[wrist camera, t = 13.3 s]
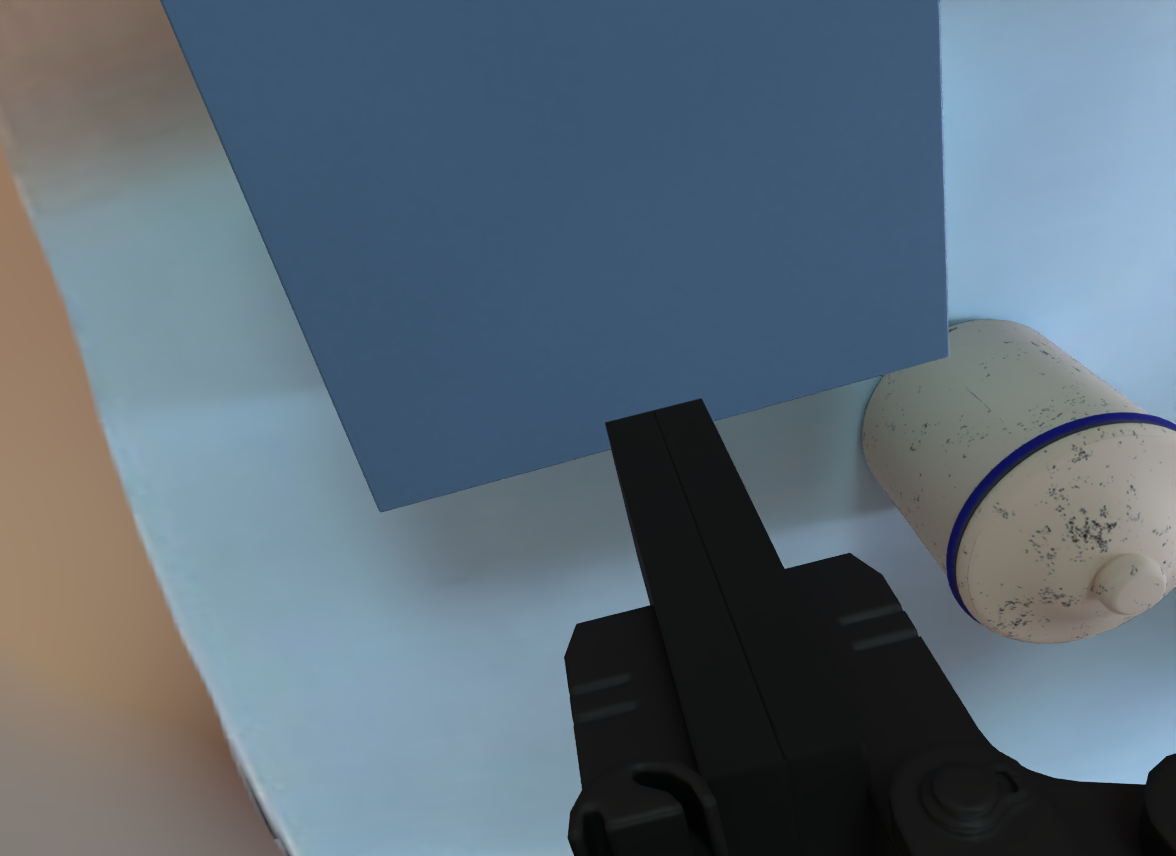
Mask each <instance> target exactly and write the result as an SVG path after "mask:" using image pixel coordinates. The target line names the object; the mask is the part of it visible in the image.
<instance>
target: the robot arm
mask: <svg viewBox="0 0 1176 856" xmlns="http://www.w3.org/2000/svg"><path fill="white" fill-rule="evenodd" d="M605 426H606V430H607V434H608V438H609V442H610V446H611V450H612V454H613V458H614V462H615V466H616V471H617V475H618V479H619V483H620V487H621V491H622V495H623V499H624V503H625V507H626V511H627V516H628V520H629V524H630V528H631V532H632V536H633V540H634V544H635V548H636V552H637V556H638V561H639V564H640V568H641V572H642V576H643V579H644V583H645V587H646V590H647V594H648V598H649V602H650V606H646V607H642V608H638V609H634V610H630V611H626V612H622V613H618V614H614V615H610V616H606V617H602V618H598V619H594V620H590V621H586V622H582V623H578V624H576V626H575V629H574V632H573V635H572V637H571V640H570V643H569V646H568V648H567V651H566V654H565V656H564V659H565V666H566V674H567V681H568V688H569V693H570V703H571V710H572V718H573V722H574V733H575V740H576V747H577V755H578V762H579V770H580V777H581V784H582V791H581V793H580V795H579V797H578V799H577V800H576V802H575V804H574V806H573V808H572V810H571V812H570V820H569V830H568V840H569V843H570V846H571V849H572V851H573V854H574V856H1176V754H1173V755H1169V756H1166V757H1165V758H1164V759H1163V760H1162V761H1161V762H1160V763H1159V764H1158V765H1156V766H1155V767H1154V768H1153V769H1152V770H1151V771H1150V772H1149V774H1148V778H1147V782H1146V785H1141V784H1120V783H1099V782H1079V781H1072V780H1065V779H1057V778H1053V777H1050V776H1046V775H1043V774H1040V773H1037V772H1034V771H1031V770H1029V769H1027V768H1025V767H1023V766H1021V765H1020V764H1019V763H1018V762H1017V761H1016V760H1014V759H1012V758H1011V757H1009V756H1007V755H1005V754H1003V753H1001V752H1000V751H998V750H997V749H996V748H995V747H993V746H992V745H991V744H990V742H989V741H988V740H987V739H986V738H985V736H984V735H983V734H982V733H981V731H980V730H979V729H978V727H977V726H976V724H975V722H974V721H973V719H972V718H971V716H970V714H969V713H968V711H967V710H966V708H965V706H964V705H963V703H962V702H961V700H960V698H959V697H958V695H957V694H956V692H955V690H954V689H953V687H952V686H951V684H950V682H949V681H948V679H947V678H946V676H945V674H944V673H943V671H942V670H941V668H940V666H939V665H938V663H937V662H936V660H935V658H934V657H933V655H932V654H931V652H930V650H929V649H928V647H927V646H926V644H925V642H924V641H923V639H922V638H921V636H920V637H919V636H918V634H917V630H916V628H915V626H914V625H913V623H912V622H911V620H910V618H909V617H908V615H907V614H906V612H905V611H903V610H902V607H901V604H900V602H899V601H898V599H897V598H896V596H895V594H894V593H893V591H892V590H891V588H890V586H889V585H888V583H887V582H886V580H885V578H884V577H883V575H882V574H880V573H879V572H877V571H876V570H874V569H873V568H871V567H870V566H868V565H867V564H865V563H864V562H863V561H861V560H860V559H858V558H857V557H855V556H854V555H852V554H851V553H847V554H843V555H839V556H835V557H831V558H827V559H823V560H819V561H815V562H811V563H807V564H803V565H799V566H795V567H791V568H787V569H784V567H783V565H782V563H781V561H780V559H779V557H778V555H777V552H776V550H775V548H774V546H773V544H772V542H771V540H770V538H769V536H768V534H767V532H766V530H765V528H764V526H763V524H762V522H761V519H760V517H759V515H758V513H757V511H756V509H755V507H754V505H753V503H752V501H751V499H750V497H749V495H748V493H747V491H746V488H745V486H744V484H743V482H742V480H741V478H740V476H739V474H738V472H737V470H736V468H735V466H734V464H733V462H732V460H731V458H730V455H729V453H728V451H727V449H726V447H725V445H724V443H723V441H722V439H721V437H720V435H719V433H718V431H717V429H716V427H715V424H714V422H713V420H712V418H711V416H710V414H709V412H708V410H707V408H706V406H705V404H704V402H703V400H702V398H700V399H696V400H692V401H688V402H684V403H680V404H676V405H672V406H668V407H664V408H660V409H656V410H652V411H648V412H644V413H640V414H637V415H633V416H629V417H625V418H621V419H617V420H613V421H609V422H605Z"/></svg>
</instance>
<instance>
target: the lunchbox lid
mask: <svg viewBox="0 0 1176 856" xmlns="http://www.w3.org/2000/svg"><path fill="white" fill-rule="evenodd" d="M160 1H161V3H162V6H163V8H164V10H165V13H166V15H167V17H168V20H169V22H170V24H171V27H172V29H173V31H174V34H175V36H176V38H177V41H178V43H179V45H180V48H181V50H182V52H183V55H184V57H185V59H186V62H187V64H188V66H189V68H190V71H191V73H192V75H193V78H194V80H195V82H196V85H197V87H198V89H199V92H200V94H201V96H202V99H203V101H204V103H205V106H206V108H207V110H208V113H209V115H210V117H211V120H212V122H213V124H214V127H215V129H216V131H217V134H218V136H219V138H220V141H221V143H222V145H223V148H224V150H225V152H226V155H227V157H228V159H229V162H230V164H231V166H232V169H233V171H234V173H235V176H236V178H237V180H238V183H239V185H240V187H241V190H242V192H243V194H244V197H245V199H246V201H247V204H248V206H249V208H250V211H251V213H252V215H253V218H254V220H255V222H256V225H257V227H258V229H259V232H260V234H261V236H262V239H263V241H264V243H265V246H266V248H267V250H268V253H269V255H270V257H271V260H272V262H273V264H274V267H275V269H276V271H277V274H278V276H279V278H280V281H281V283H282V285H283V288H284V290H285V292H286V295H287V297H288V299H289V302H290V304H291V306H292V309H293V311H294V313H295V316H296V318H297V320H298V323H299V325H300V327H301V330H302V332H303V334H304V337H305V339H306V341H307V344H308V346H309V348H310V351H311V353H312V355H313V358H314V360H315V362H316V365H317V367H318V369H319V372H320V374H321V376H322V379H323V381H324V383H325V386H326V388H327V390H328V393H329V395H330V397H331V400H332V402H333V404H334V407H335V409H336V411H337V414H338V416H339V418H340V421H341V423H342V425H343V428H344V430H345V432H346V435H347V437H348V439H349V442H350V444H351V446H352V449H353V451H354V453H355V456H356V458H357V460H358V463H359V465H360V467H361V470H362V472H363V474H364V477H365V479H366V481H367V484H368V486H369V488H370V491H371V493H372V495H373V498H374V500H375V502H376V505H377V507H378V509H379V511H380V512H384V511H388V510H392V509H395V508H399V507H403V506H406V505H410V504H414V503H417V502H421V501H424V500H428V499H432V498H435V497H439V496H443V495H446V494H450V493H454V492H457V491H461V490H465V489H468V488H472V487H476V486H479V485H483V484H486V483H490V482H494V481H497V480H501V479H505V478H508V477H512V476H516V475H519V474H523V473H527V472H530V471H534V470H538V469H541V468H545V467H548V466H552V465H556V464H559V463H563V462H567V461H570V460H574V459H578V458H581V457H585V456H589V455H592V454H596V453H600V452H603V451H607V450H611V446H610V442H609V438H608V434H607V430H606V426H605V422H609V421H613V420H617V419H621V418H625V417H629V416H633V415H637V414H640V413H644V412H648V411H652V410H656V409H660V408H664V407H668V406H672V405H676V404H680V403H684V402H688V401H692V400H696V399H700V398H702V400H703V402H704V404H705V406H706V408H707V410H708V412H709V414H710V416H711V418H712V420H713V421H716V420H720V419H724V418H727V417H731V416H735V415H738V414H742V413H745V412H749V411H753V410H756V409H760V408H764V407H767V406H771V405H775V404H778V403H782V402H786V401H789V400H793V399H797V398H800V397H804V396H807V395H811V394H815V393H818V392H822V391H826V390H829V389H833V388H837V387H840V386H844V385H848V384H851V383H855V382H859V381H862V380H866V379H869V378H873V377H877V376H880V375H884V374H888V373H891V372H895V371H899V370H902V369H906V368H910V367H913V366H917V365H921V364H924V363H928V362H931V361H935V360H939V359H942V358H946V357H948V356H949V328H948V290H947V252H946V215H945V177H944V140H943V102H942V65H941V27H940V0H160Z"/></svg>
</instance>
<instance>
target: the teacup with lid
mask: <svg viewBox="0 0 1176 856" xmlns="http://www.w3.org/2000/svg"><path fill="white" fill-rule="evenodd" d="M948 328H949V356H948V357H946V358H942V359H939V360H935V361H931V362H928V363H924V364H921V365H917V366H913V367H910V368H906V369H902V370H899V371H895V372H891V373H888V374H885V375H884V376H883V378H882V379H881V380H880V382H879V384H878V385H877V387H876V389H875V390H874V392H873V394H872V397H871V399H870V401H869V404H868V406H867V409H866V413H865V416H864V422H863V431H862V442H863V450H864V455H865V458H866V461H867V464H868V466H869V468H870V470H871V472H872V473H873V475H874V477H875V478H876V479H877V481H878V482H879V484H880V485H881V486H882V488H883V489H884V490H885V492H886V493H887V494H888V496H889V497H890V499H891V500H892V501H893V503H894V504H895V505H896V507H897V508H898V510H899V511H900V512H901V514H902V515H903V516H904V518H905V519H906V520H907V522H908V523H909V525H910V526H911V527H912V529H913V530H914V531H915V533H916V534H917V535H918V537H919V538H920V540H921V541H922V542H923V544H924V545H925V546H926V548H927V549H928V551H929V552H930V553H931V555H932V556H933V557H934V559H935V560H936V561H937V563H938V564H939V566H940V567H941V568H942V570H943V571H944V572H945V574H946V575H947V578H948V581H949V585H950V588H951V590H952V593H953V595H954V597H955V599H956V600H957V602H958V604H959V605H960V606H961V607H962V609H963V610H964V611H965V612H966V613H967V614H968V615H969V616H970V617H971V618H972V619H974V620H975V621H977V622H978V623H980V624H981V625H983V626H985V627H986V628H988V629H989V630H991V631H993V632H995V633H997V634H1000V635H1002V636H1005V637H1008V638H1011V639H1015V640H1019V641H1023V642H1030V643H1062V642H1069V641H1075V640H1080V639H1084V638H1088V637H1091V636H1094V635H1097V634H1100V633H1103V632H1106V631H1108V630H1111V629H1113V628H1115V627H1117V626H1119V625H1122V624H1124V623H1125V622H1127V621H1129V620H1131V619H1133V618H1135V617H1136V616H1138V615H1139V614H1141V613H1143V612H1144V611H1146V610H1148V609H1150V608H1151V607H1152V606H1154V605H1155V604H1156V603H1157V602H1158V601H1159V600H1161V599H1162V598H1163V597H1164V596H1165V595H1166V594H1168V593H1169V592H1170V591H1171V590H1172V589H1173V588H1174V587H1175V586H1176V425H1175V424H1174V423H1172V422H1170V421H1168V420H1165V419H1162V418H1160V417H1156V416H1152V415H1149V414H1148V413H1147V412H1145V411H1144V410H1143V409H1141V408H1140V407H1139V406H1137V405H1136V404H1135V403H1133V402H1132V401H1131V400H1129V399H1128V398H1127V397H1125V396H1124V395H1122V394H1121V393H1120V392H1118V391H1117V390H1116V389H1114V388H1113V387H1112V386H1110V385H1109V384H1108V383H1106V382H1105V381H1104V380H1102V379H1101V378H1099V377H1098V376H1097V375H1095V374H1094V373H1093V372H1091V371H1090V370H1089V369H1087V368H1086V367H1085V366H1083V365H1082V364H1081V363H1079V362H1078V361H1077V360H1075V359H1074V358H1072V357H1071V356H1070V355H1068V354H1067V353H1066V352H1064V351H1063V350H1062V349H1060V348H1059V347H1058V346H1056V345H1055V344H1054V343H1052V342H1051V341H1049V340H1048V339H1047V338H1045V337H1044V336H1043V335H1041V334H1040V333H1039V332H1037V331H1035V330H1033V329H1031V328H1029V327H1027V326H1024V325H1022V324H1019V323H1015V322H1012V321H1005V320H993V319H988V320H976V321H969V322H965V323H960V324H957V325H954V326H951V327H948Z"/></svg>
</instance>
